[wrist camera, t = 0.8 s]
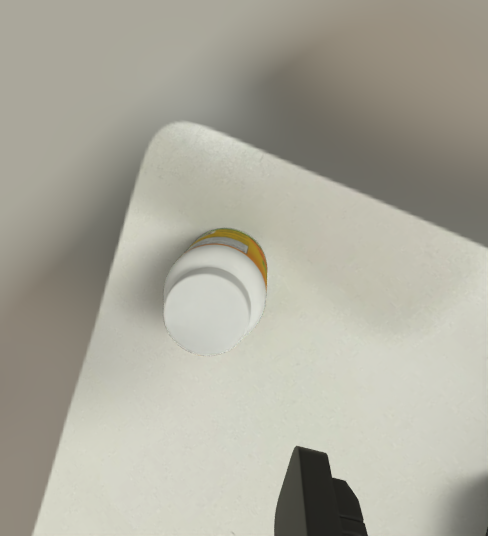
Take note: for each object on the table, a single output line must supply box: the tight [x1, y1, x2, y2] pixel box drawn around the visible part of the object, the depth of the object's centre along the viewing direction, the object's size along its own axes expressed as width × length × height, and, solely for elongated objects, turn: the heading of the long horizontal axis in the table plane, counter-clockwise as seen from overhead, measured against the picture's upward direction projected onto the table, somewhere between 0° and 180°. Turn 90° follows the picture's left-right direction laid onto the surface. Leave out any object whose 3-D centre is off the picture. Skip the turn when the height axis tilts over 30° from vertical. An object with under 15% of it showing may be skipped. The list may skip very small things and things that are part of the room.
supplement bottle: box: [163, 228, 267, 356], centre depth 24 cm, size 5×5×10 cm
